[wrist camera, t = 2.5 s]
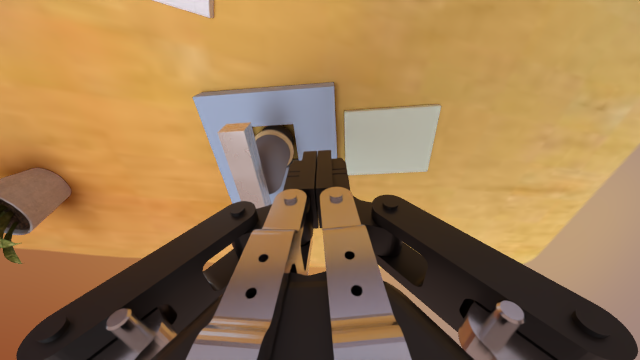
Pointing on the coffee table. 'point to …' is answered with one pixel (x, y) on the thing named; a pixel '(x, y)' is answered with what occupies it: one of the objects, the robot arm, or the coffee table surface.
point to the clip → (245, 163)
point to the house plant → (27, 204)
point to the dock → (271, 119)
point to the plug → (275, 154)
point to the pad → (390, 139)
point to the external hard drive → (193, 6)
